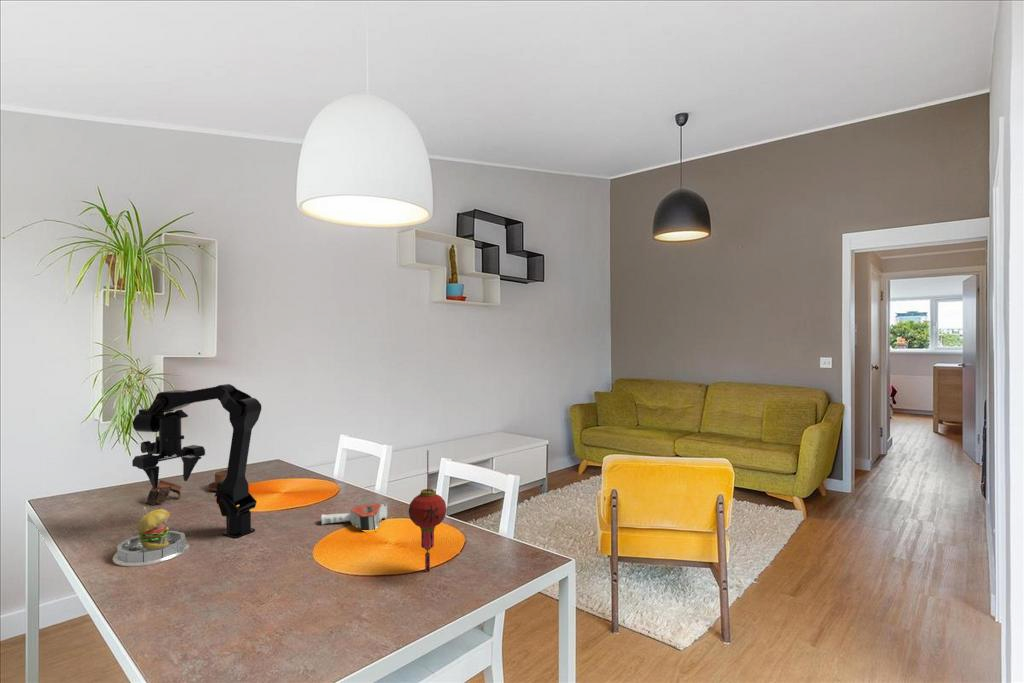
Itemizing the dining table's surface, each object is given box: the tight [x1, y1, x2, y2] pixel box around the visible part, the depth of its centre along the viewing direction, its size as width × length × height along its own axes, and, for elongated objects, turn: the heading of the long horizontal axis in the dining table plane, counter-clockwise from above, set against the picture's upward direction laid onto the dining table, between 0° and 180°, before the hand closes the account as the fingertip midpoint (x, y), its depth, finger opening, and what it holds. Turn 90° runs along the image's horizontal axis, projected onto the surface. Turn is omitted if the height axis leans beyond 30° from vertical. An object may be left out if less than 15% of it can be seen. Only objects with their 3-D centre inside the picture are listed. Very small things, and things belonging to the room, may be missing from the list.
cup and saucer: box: [207, 469, 227, 492], centre depth 205 cm, size 12×12×6 cm
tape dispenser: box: [320, 503, 388, 531], centre depth 169 cm, size 18×5×20 cm
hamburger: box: [137, 506, 171, 550], centre depth 146 cm, size 8×7×12 cm
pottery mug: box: [146, 479, 182, 506], centre depth 189 cm, size 12×10×8 cm
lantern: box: [408, 450, 448, 573], centre depth 135 cm, size 10×10×30 cm
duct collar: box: [112, 530, 190, 568], centre depth 146 cm, size 17×17×3 cm
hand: (170, 484), depth 164 cm, fingers open, 9 cm apart
